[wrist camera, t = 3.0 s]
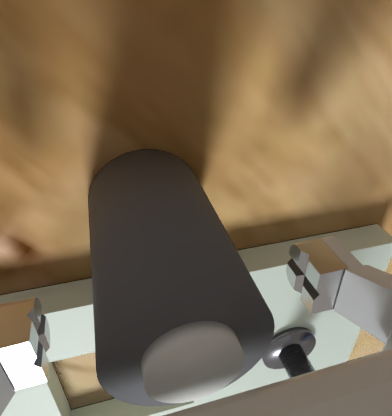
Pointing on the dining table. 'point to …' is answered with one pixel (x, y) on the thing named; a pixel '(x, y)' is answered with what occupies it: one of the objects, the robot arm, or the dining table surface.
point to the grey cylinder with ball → (168, 286)
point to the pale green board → (256, 377)
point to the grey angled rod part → (291, 351)
